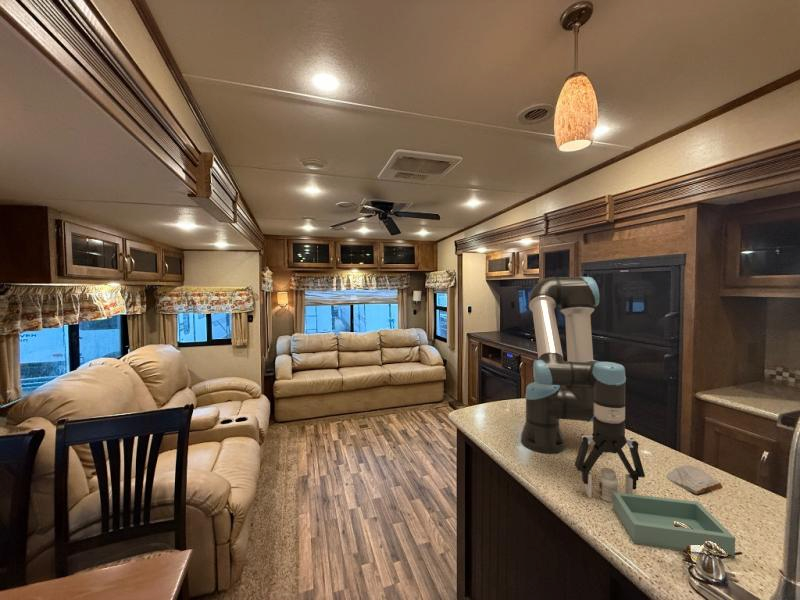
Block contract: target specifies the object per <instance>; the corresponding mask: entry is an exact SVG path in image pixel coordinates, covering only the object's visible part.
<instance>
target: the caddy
mask: <svg viewBox="0 0 800 600" xmlns="http://www.w3.org/2000/svg"><path fill="white" fill-rule="evenodd" d="M612 510H613V511H614V513H615V514H616V516H617V518H618V520H619V521H620V522H621V524H622V526H623V528H624V529H625V532H627V534H628V537H629V538H630V540H631V541H632V543H633V544H634V545H639V546H640V545H641V546H646V547H654V548H659V549H661V548H662V549H668V550H674V551H681V552H685V551H684V550H685V549H686V547H687V546H690V545H700V546H701V545H703V544H704V542H705V541H711V542H713V543H716V544H717V545H718V546H719V547H720V548H721V549H723V550H724V551H725V552H726V553H728V554H730V555H731V556H730V557H729V558H730V559H736V537H735V536H734V535H733V534H732V533H731V532H730V531H729V530H728V529H726V528H725V527H724V525H722V524H721V523H720V521H719V520H717V518H715V517H714V516H713V515H712V514H711V513H710V512H709V511H708V510H707V508H705V507H704V506H703V504H701V503H700V502H699V501H693V500H686V499H685V500H684V499H676V498H668V497H667V498H666V497H660V496H651V495H641V494H634V493H633V494H626V493H625V492H618V493H617V492H613V502H612ZM674 521H679V522H681V523H684V524H686V525H688V526H690V527H691V528H693V529H690V528H683V527H675V526H674V524H673V522H674ZM729 558H728V559H729Z"/></svg>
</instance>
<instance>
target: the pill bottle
mask: <svg viewBox="0 0 800 600" xmlns="http://www.w3.org/2000/svg"><path fill="white" fill-rule="evenodd" d="M600 472H601V473H600V474H601V475H600V476H599V478H598V480H599V481H598V482H599V485H598V486H599V487H598V489H599V491H598V492H599V493H598V494H599V497H600V498H601V499H602V500H604V501H605V502H609V503H613V492H617V493H619V492H618V491H619V490H618V489H619V488H618V487H619V485H618V483H619V482H618V480H617V473H616V471H615V470H614V469H612V468H609V467H602V468H601V471H600Z"/></svg>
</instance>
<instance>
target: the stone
mask: <svg viewBox="0 0 800 600" xmlns="http://www.w3.org/2000/svg"><path fill="white" fill-rule="evenodd" d="M666 480H668V481H670V482H672V483H673V484H675V485H677V486H678V487H680V488H682V489H683V490H685V491H687V492H691V493H693V494H696V495H699V494H703V493H708V492H711V491H717V490H721V489H722V488H723V486H722V485H723V484H721V481H719V480H717V479H715V478H713V476H711V475H710V474H708V473H707V472H706V471H705V470H704V469H702V468H699V467H696V466H692V465H688V464H687V465H684V464H683V465H679V466H677V467H675V468H674V469H672V471H670V472H668V473H667V477H666Z"/></svg>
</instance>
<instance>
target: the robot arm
mask: <svg viewBox="0 0 800 600" xmlns="http://www.w3.org/2000/svg"><path fill="white" fill-rule="evenodd" d="M599 304H600V290H599V286H598V284H597V282H596V280H595V279H594V278H593V277H591V276H562V277H560V276H559V277H558V276H557V277H555V276H553V277H552V276H551V277H547V278H546V277H545V278H544V279H542V280H540V281H539V282H538V283H536V284H535V285H534V287H533V288H532V289H531V291H530V294H529V296H528V309H529V310H530V311H531V312H532V318H533V325H534V331H535V332H534V333H535V334H534V335H535V341H536V349H537V358H538V359H537V360H536V359H535V360H534V361H533V365H532V372H533V375H532V376H533V380H534V381H533V382H530V383H528V385H527V386H526V388H525V396H524V397H525V423H524V426H523V428H522V431H521V434H520V442H521V444H522V443H523V444H522V446H524V447H526V448H527V449H528V450H532V451H533V452H534V451H535V452H537V453H542V454H558V453H561V452H563V451H564V450H565V447H566V445H565V438H564V436H563V432H562V430H561V427H560V420H566V421H568V420H569V421H570V420H571V421H580V422H581V421H582V422H587V423H591V422H592V433H591V435H585V434H583V433H581V434H580V445H579V448H578V452H577V455H576V459H575V461H574V467H575V468H576V470H577V471H578V472H581V480H582V482H583V485H585V494H586V495H587V497H588V499H589V498H590V499H592V490H593V488H592V487H593V485H592V484H593V483H592V479H593V478H592V473H591V471H592V468H593V466H594V465H595V464H596V462H597V460H598V459H599V458H600V456H603V453H612V454H617V455H618V457H619V458H620V460H621V462H622V465H624V468H625V469H626V471H627V473H625V474H624V477H625V478H624V480H625V482H624V484H625V485H624V488H625V489H624V491H625V492H624V493H626V494H634V493H633V492H634V491H633V490H635V491H636V489H637V481H639V478H645V477H646V474H645V472H644V468H643V463H642V460H641V456H640V453H639V446H640V445H639V442H638V441H637V440H636V439H635V438H633V437H631V438H626V436H625V435H626V422H625V420H626V381H627V377H626V368H625V366H624V365H622V364H620V363H617V362H611V361H599V360H595V359H594V351H593V339H592V338H593V336H592V323H591V315H592V313H593V312H594V311H595V307H597V306H599ZM556 307H559V308H560V313H562V314H563V315H564V317H565V318H564V321H565V336H566V337H565V339H566V356H567V357H566V358H567V361H566V360H564V355H563V349H562V344H561V339H560V335H559V334H560V333H559V329H558V323H557V317H556V314H555V308H556ZM592 442H594V444H593V446H592V449H591V451H590V453H589V454H588V455H587V453H588V450H589V445H591V443H592ZM625 445H627V447H629V452H630V455H631V459H632V462H633V466H634V469H633V466H632V464H631V463H630V461H629V460H628V458H627V457H626V455H625V453H624V451H623V448H624V447H625ZM586 456H587V457H586Z"/></svg>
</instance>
